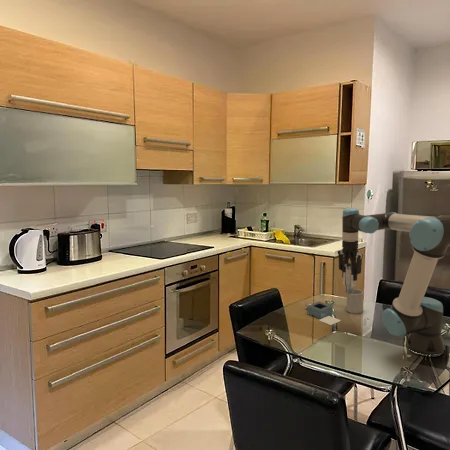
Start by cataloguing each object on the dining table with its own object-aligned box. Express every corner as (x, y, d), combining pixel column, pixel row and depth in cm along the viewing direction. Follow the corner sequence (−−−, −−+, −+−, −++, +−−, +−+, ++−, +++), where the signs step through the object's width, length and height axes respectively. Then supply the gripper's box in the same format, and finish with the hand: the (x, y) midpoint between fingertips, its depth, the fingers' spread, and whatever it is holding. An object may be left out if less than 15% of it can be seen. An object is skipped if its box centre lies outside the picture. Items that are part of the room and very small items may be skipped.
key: (356, 291, 205) (357, 262, 202) (348, 294, 201) (349, 264, 198) (350, 289, 208) (350, 260, 205) (342, 292, 204) (342, 263, 201)
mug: (365, 312, 219) (366, 293, 217) (351, 314, 218) (351, 295, 215) (354, 304, 231) (354, 285, 229) (340, 306, 229) (340, 287, 227)
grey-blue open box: (332, 314, 219) (332, 306, 218) (321, 319, 214) (321, 311, 213) (312, 306, 230) (312, 298, 230) (300, 311, 225) (300, 303, 224)
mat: (340, 321, 210) (340, 320, 210) (330, 325, 206) (330, 325, 206) (328, 316, 217) (328, 315, 217) (318, 320, 212) (318, 319, 212)
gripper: (370, 241, 195) (368, 287, 199) (340, 236, 208) (340, 279, 213) (360, 244, 190) (359, 291, 195) (331, 238, 204) (330, 283, 208)
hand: (349, 285), depth 204 cm, fingers closed on key, 4 cm apart
